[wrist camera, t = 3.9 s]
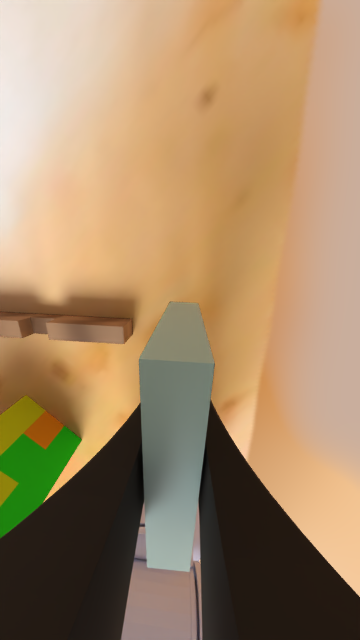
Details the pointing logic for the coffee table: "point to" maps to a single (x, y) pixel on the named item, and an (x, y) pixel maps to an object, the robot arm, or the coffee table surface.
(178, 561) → the teal plate
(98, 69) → the coffee table surface
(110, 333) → the walnut rail
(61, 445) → the puzzle toy
